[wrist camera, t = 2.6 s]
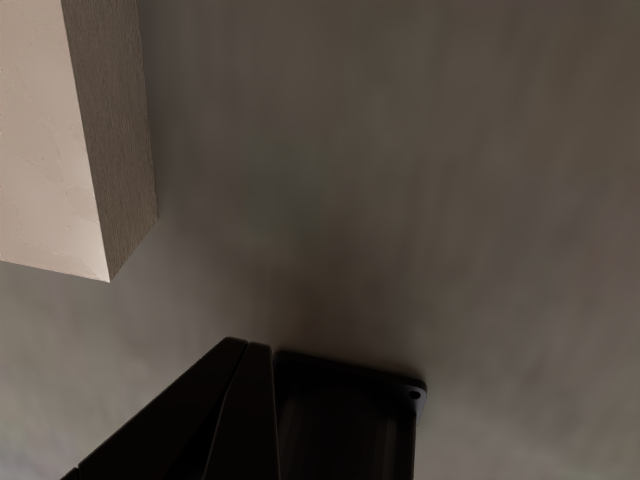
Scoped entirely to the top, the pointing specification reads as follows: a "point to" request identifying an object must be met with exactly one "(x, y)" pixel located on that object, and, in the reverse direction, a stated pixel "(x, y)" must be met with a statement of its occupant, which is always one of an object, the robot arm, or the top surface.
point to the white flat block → (73, 136)
